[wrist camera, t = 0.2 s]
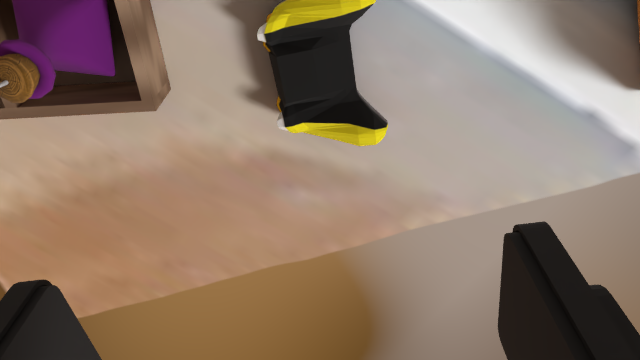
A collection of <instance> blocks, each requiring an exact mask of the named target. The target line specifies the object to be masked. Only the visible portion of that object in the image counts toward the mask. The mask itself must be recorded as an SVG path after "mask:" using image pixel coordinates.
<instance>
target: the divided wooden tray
mask: <svg viewBox="0 0 640 360" xmlns="http://www.w3.org/2000/svg"><path fill="white" fill-rule="evenodd" d="M114 2H115V5H116V9H117V13H118V16H119V20H120V24H121V27H122V31H123V34H124V38H125V42H126V45H127V49H128V53H129V56H130V60H131V64H132V67H133V71H134V75H135V78H136V81H131V82H114V83H96V84H78V85H60V86H53V89H52V90H51V91H50V92H48V93H47V94H46V95H44V96H43V97H42V98H39V99H27V100H26V101H25V102H24V103H12V102H10V101H8V100H6V99H4V98H2V97H0V119H16V118H34V117H53V116H71V115H90V114H108V113H126V112H145V111H156V110H157V109H158V107H159V106H160V104H161V103H162V101H163V100H164V99H165V97H166V96H167V94H168V93H169V91H170V90H171V88H170V83H169V79H168V75H167V71H166V66H165V62H164V58H163V54H162V50H161V45H160V41H159V37H158V33H157V28H156V24H155V20H154V16H153V11H152V7H151V3H150V0H114ZM16 39H19V35H18V29H17V24H16V19H15V13H14V8H13V3H12V0H0V43H1V42H2V41H4V40H16Z"/></svg>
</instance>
